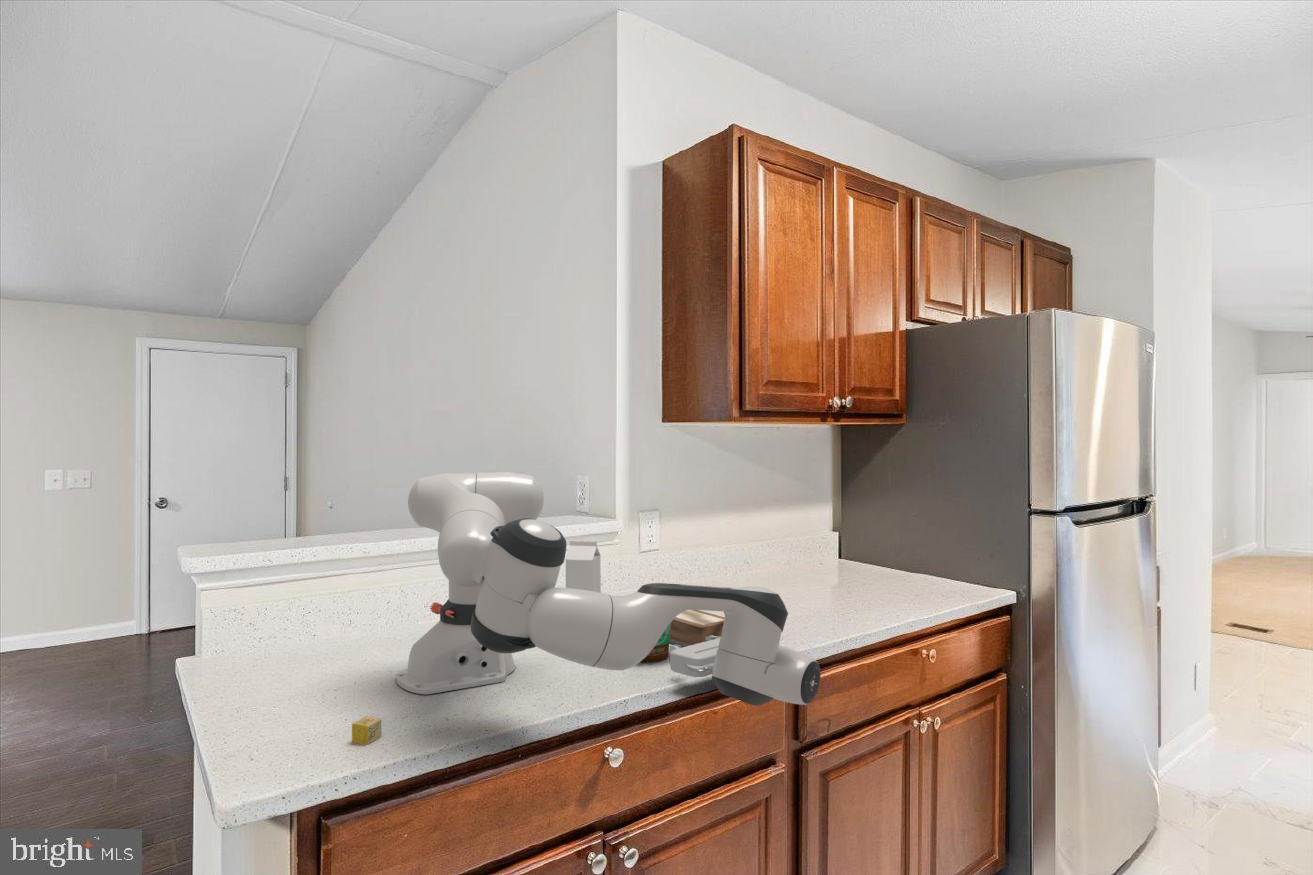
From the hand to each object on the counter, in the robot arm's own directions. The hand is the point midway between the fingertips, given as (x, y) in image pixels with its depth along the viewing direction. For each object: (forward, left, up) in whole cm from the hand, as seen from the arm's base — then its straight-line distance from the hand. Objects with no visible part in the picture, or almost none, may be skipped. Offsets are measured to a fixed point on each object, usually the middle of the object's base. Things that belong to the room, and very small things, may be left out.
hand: (690, 644), depth 145 cm
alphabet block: (-59, +9, -6) cm, 60 cm away
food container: (0, +11, -6) cm, 12 cm away
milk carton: (+9, +50, -6) cm, 51 cm away
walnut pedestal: (+16, +16, -5) cm, 23 cm away
